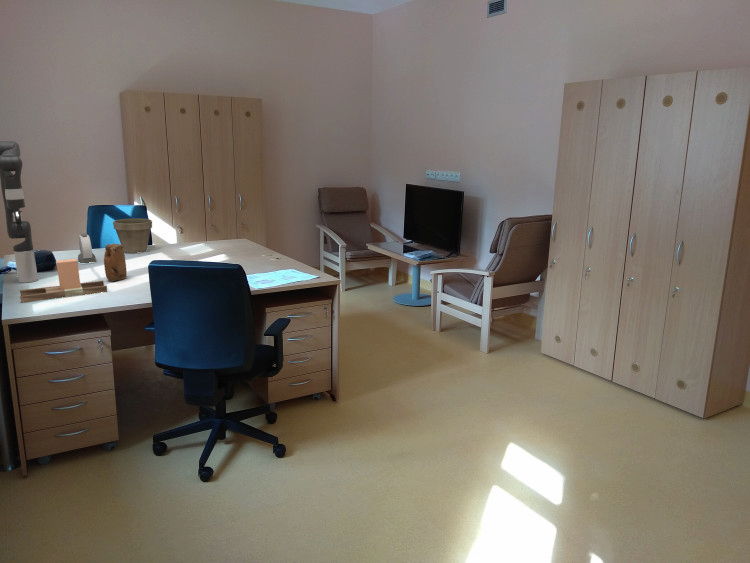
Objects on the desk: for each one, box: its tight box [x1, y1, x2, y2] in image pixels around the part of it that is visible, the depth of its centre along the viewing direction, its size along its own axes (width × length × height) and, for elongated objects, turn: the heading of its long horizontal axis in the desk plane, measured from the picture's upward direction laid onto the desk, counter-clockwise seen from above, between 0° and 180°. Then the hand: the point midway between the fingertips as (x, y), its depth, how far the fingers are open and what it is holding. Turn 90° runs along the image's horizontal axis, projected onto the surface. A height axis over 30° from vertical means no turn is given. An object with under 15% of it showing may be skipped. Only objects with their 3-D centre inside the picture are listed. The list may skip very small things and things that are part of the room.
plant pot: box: [112, 218, 153, 254], centre depth 386 cm, size 25×25×22 cm
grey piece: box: [77, 233, 97, 263], centre depth 353 cm, size 16×10×18 cm, turn 34°
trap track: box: [19, 280, 108, 304], centre depth 283 cm, size 14×38×3 cm, turn 122°
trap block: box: [55, 258, 81, 290], centre depth 282 cm, size 6×9×14 cm, turn 122°
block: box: [103, 243, 127, 282], centre depth 309 cm, size 11×8×20 cm
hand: (20, 232), depth 278 cm, fingers closed
